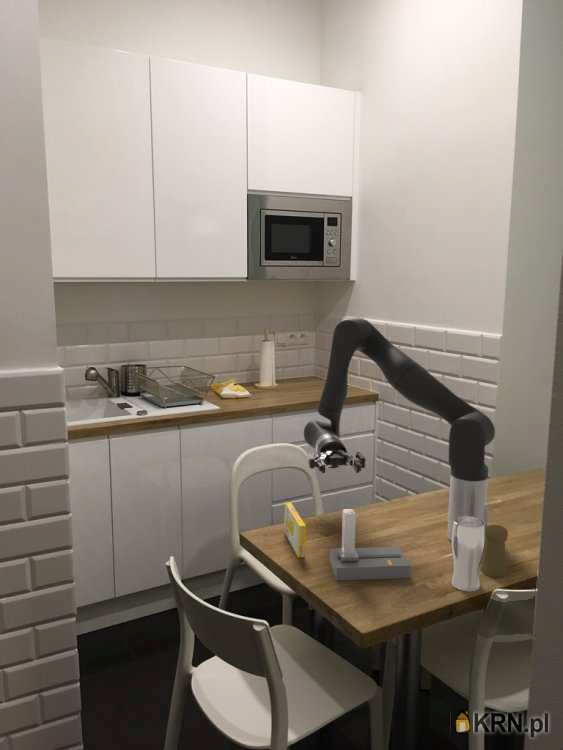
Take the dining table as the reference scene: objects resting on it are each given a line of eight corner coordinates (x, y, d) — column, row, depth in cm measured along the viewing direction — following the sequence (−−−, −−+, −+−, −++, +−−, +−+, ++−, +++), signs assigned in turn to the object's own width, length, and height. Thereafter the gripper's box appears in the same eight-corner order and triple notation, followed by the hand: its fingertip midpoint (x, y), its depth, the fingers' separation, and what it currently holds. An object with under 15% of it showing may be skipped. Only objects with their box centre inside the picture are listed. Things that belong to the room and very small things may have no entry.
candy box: (306, 557, 156) (306, 525, 154) (297, 558, 155) (298, 526, 154) (291, 531, 171) (291, 501, 170) (283, 531, 171) (283, 502, 170)
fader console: (398, 558, 156) (399, 545, 155) (410, 577, 146) (410, 564, 145) (329, 560, 154) (329, 547, 154) (336, 580, 144) (336, 567, 144)
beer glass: (476, 595, 138) (481, 530, 135) (445, 587, 142) (448, 523, 139) (485, 582, 144) (489, 519, 141) (454, 574, 147) (458, 513, 145)
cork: (508, 578, 146) (512, 533, 144) (481, 575, 147) (484, 530, 145) (505, 566, 152) (508, 522, 150) (478, 564, 153) (481, 520, 151)
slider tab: (354, 551, 152) (355, 507, 150) (358, 560, 147) (359, 515, 145) (337, 551, 151) (338, 507, 149) (341, 561, 146) (342, 515, 144)
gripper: (304, 436, 172) (312, 454, 156) (357, 436, 173) (370, 454, 157) (304, 463, 173) (312, 484, 157) (356, 463, 174) (369, 483, 158)
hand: (341, 469), depth 157 cm, fingers open, 8 cm apart
